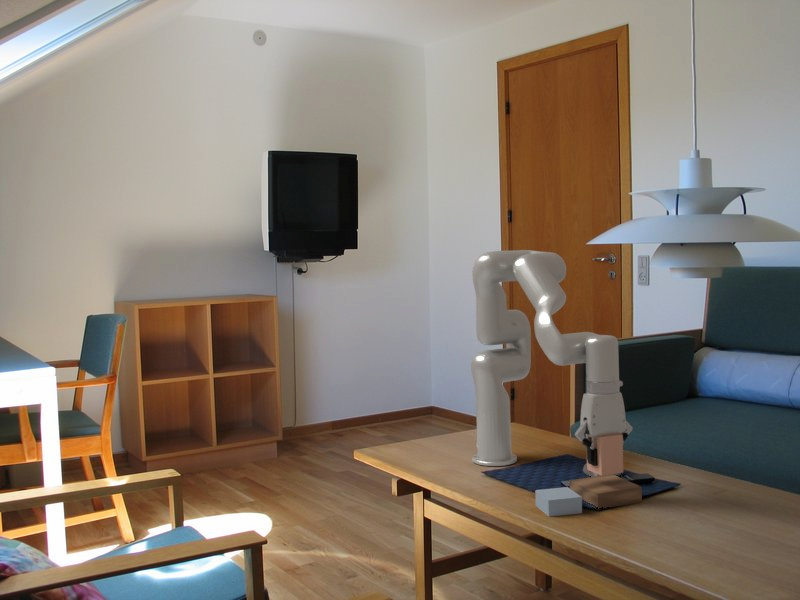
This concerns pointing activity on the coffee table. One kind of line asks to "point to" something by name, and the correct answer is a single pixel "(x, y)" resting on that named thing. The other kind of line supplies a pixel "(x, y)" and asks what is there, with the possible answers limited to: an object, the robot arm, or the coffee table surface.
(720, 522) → the coffee table surface
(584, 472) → the rock
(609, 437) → the terracotta block
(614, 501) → the walnut block
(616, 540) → the coffee table surface
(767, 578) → the coffee table surface
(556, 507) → the slate block
